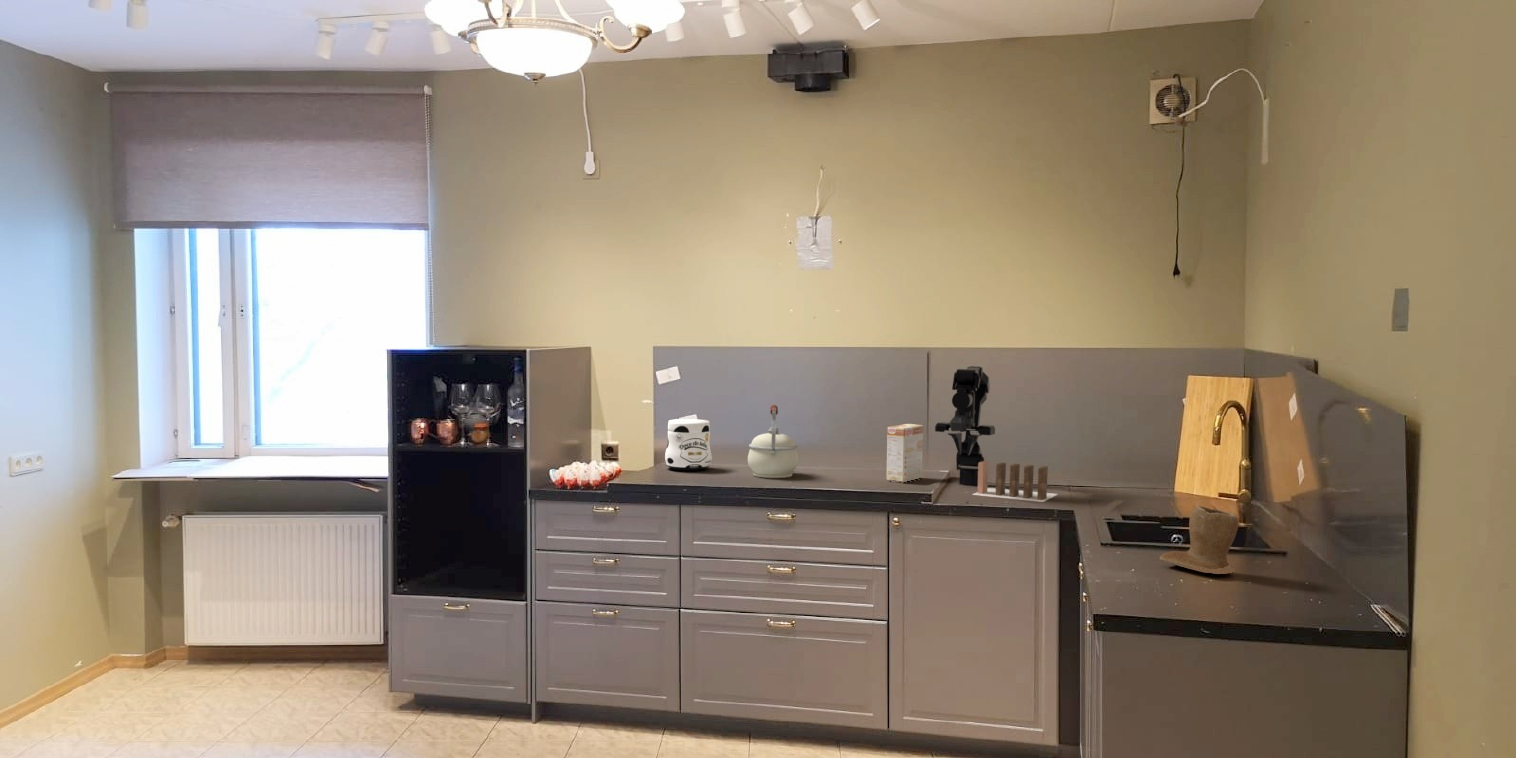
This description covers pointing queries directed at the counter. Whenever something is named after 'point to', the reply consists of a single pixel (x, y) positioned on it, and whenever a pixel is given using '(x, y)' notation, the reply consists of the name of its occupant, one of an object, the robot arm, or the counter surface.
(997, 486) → the domino
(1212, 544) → the brown hat
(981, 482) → the domino
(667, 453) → the doce de leite jar
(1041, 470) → the domino
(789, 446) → the kettle
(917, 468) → the coffeecake box
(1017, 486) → the domino
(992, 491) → the domino mat
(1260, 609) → the counter surface
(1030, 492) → the domino
